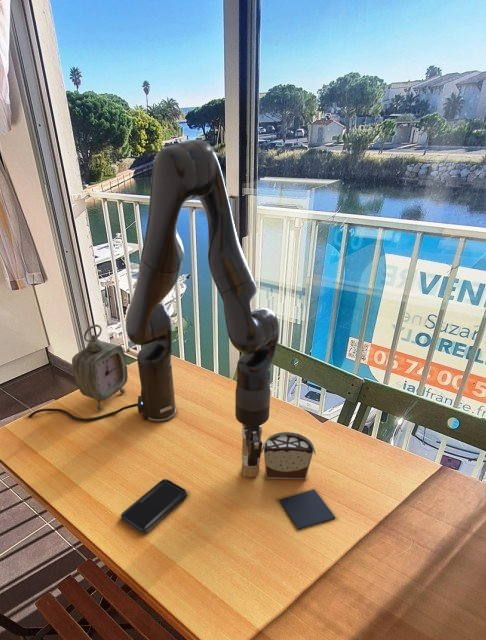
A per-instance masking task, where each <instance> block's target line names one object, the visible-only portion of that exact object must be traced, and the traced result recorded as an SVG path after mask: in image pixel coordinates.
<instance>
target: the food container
mask: <svg viewBox="0 0 486 640" xmlns="http://www.w3.org/2000/svg"><path fill="white" fill-rule="evenodd" d="M263 453H264V454H263ZM261 454H263V457H264V458H263V459H264V469H265V479H274V480H275V479H277V480H278V479H279V480H307V476H308V473H309V468H310V465H311V461H312V458H313V455H316V449H315V446H314V444H313V443H312V441H311V440H310V439H309V438H307V437H306V436H304V435H302V434H300V433H297V432H292V431H282V432H277V433H274V434H272V435H270V436H268V437H267V438H266V439H265V441H264V443H263V445H262V450H261Z"/></svg>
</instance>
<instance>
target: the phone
mask: <svg viewBox="0 0 486 640" xmlns="http://www.w3.org/2000/svg"><path fill="white" fill-rule="evenodd" d="M187 498H188V491H187V490H186V489H185V488H183V487H181V486H180V485H178V484H176V483H174V482H173V481H171V480H170V479H167V478H164V479H161V480H160V481H159V482H157V484H155V485H154V486H153V487H152V488H150V489H149V490H148V491H147V492H146V493H144V494H143V495H141V497H139V498H138V499H137V500H136V501H135V502H133V503H132V504H131V505H130V506H129V507H127V508H126V509H125V510H124V511H122V513H121V515H120V517H121V520H122V522H123V523H125V524H126V525H128V526H129V527H131V528H132V529H134V530H135V531H136V532H138V533H139V534H141V535H146V534H148V533H149V532H150V531H151V530H152V529H153V528H154V527H156V525H158V524H159V523H160V522H162V521H163V520H164V519H165V518H166V517H167V516H168V515H169V514H170V513H171V512H172V511H173V510H174V509H175V508H177V507H178V506H179V505H180V504H181V503H182V502H183V501H184V500H186V499H187Z"/></svg>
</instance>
